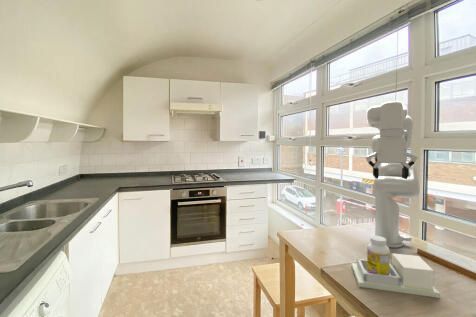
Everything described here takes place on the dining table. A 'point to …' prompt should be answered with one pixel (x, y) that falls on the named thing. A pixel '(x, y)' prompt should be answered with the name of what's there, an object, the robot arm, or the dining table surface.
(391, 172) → the robot arm
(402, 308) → the dining table surface
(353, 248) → the dining table surface
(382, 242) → the supplement bottle
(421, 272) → the square frame tray
